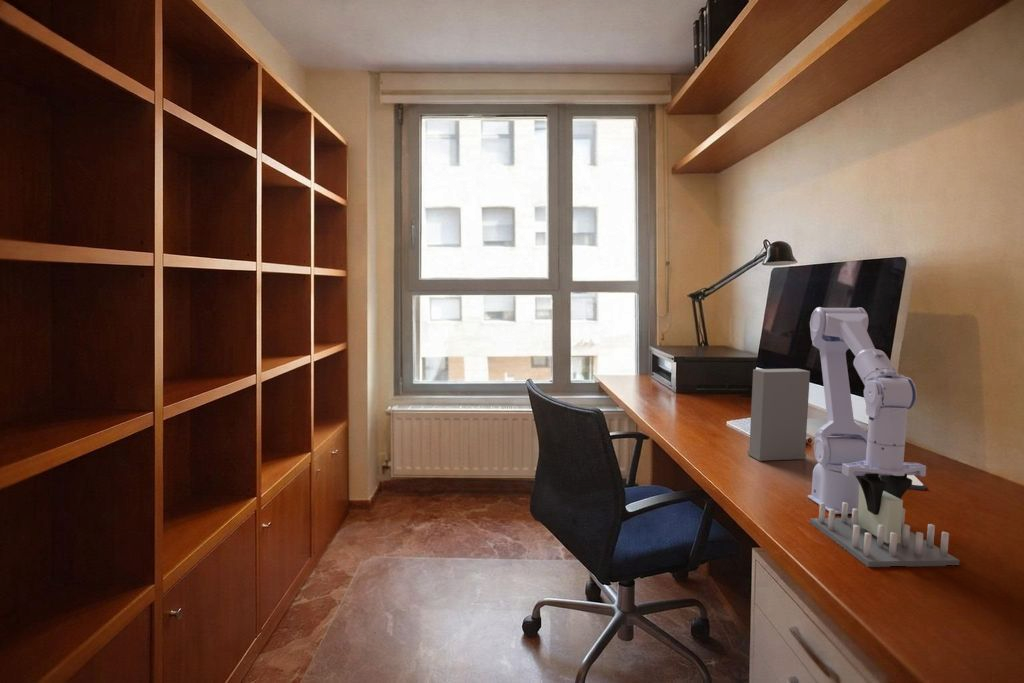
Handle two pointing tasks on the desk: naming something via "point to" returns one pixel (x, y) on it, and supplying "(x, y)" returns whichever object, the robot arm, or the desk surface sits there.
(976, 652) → the desk surface
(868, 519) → the pale rectangular block
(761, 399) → the tall grey upright box
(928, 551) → the dish rack
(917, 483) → the phone case
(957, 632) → the desk surface
